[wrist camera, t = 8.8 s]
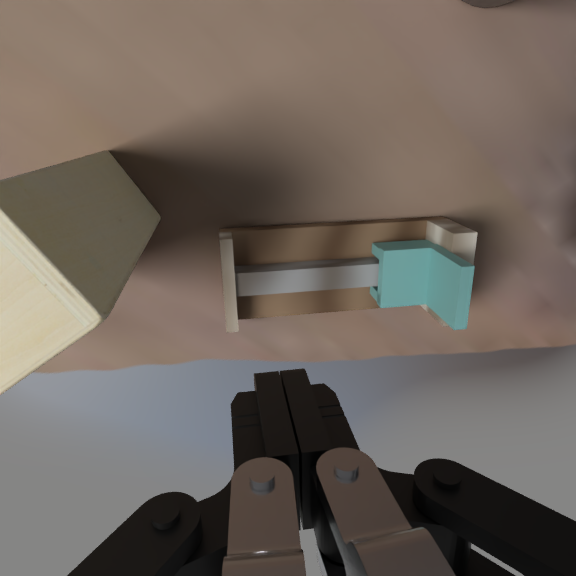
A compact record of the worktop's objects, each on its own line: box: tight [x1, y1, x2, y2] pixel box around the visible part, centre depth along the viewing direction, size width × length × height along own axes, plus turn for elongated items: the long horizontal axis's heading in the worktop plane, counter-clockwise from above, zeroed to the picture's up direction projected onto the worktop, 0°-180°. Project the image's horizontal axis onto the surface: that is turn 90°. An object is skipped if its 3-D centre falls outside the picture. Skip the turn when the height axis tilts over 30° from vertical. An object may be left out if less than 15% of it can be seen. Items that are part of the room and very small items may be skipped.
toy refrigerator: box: [0, 151, 161, 395], centre depth 27 cm, size 8×7×21 cm
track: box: [219, 216, 478, 333], centre depth 39 cm, size 20×8×6 cm, turn 91°
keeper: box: [370, 240, 475, 330], centre depth 37 cm, size 5×5×8 cm
